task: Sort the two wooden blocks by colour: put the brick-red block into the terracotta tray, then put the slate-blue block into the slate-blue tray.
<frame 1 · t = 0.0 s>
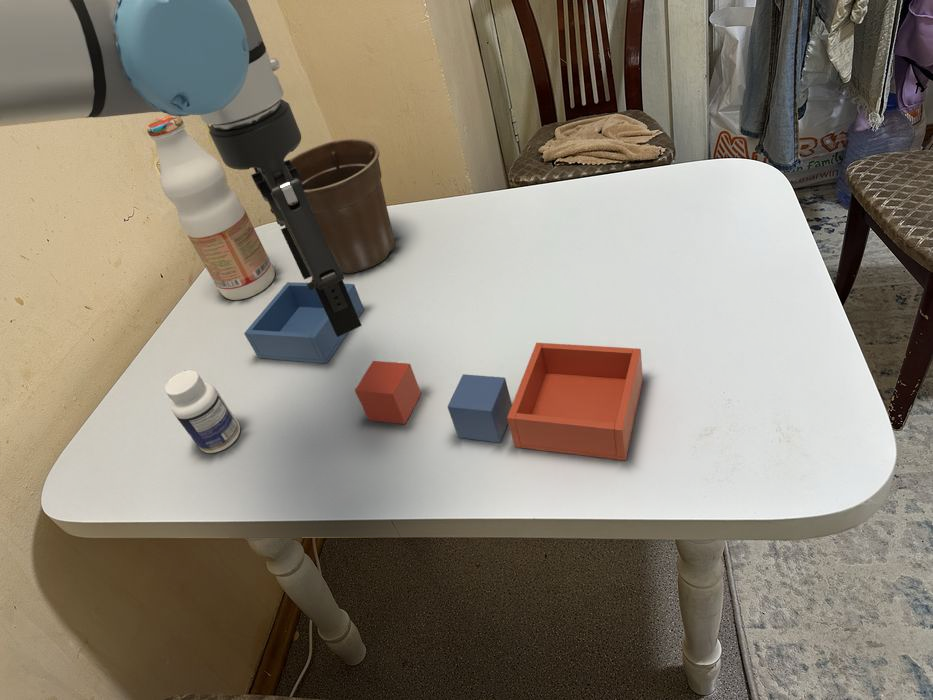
hand: (330, 299, 72), 14 cm above the table, tool pointing down, fingers open, 13 cm apart
pill bottle: (221, 438, 82), on the table
blue block: (485, 423, 73), on the table
blue bin: (312, 333, 94), on the table
fruit juice: (249, 285, 109), on the table
red bin: (580, 412, 71), on the table
red block: (395, 406, 79), on the table
plant pot: (361, 254, 108), on the table
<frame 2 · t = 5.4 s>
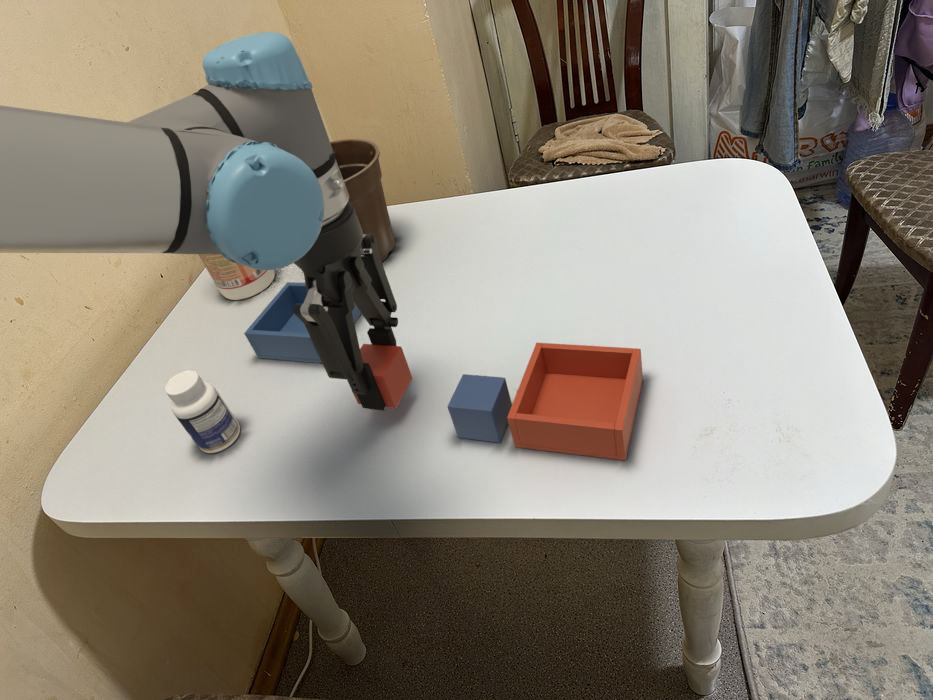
hand: (384, 389, 76), 3 cm above the table, tool pointing down, fingers closed on red block, 5 cm apart
red block: (385, 391, 77), point 3 cm above the table, touching gripper
everything else where it was.
when the fingers open (3 cm above the table, at t = 25.4 s): red block stays where it is, resting on red bin.
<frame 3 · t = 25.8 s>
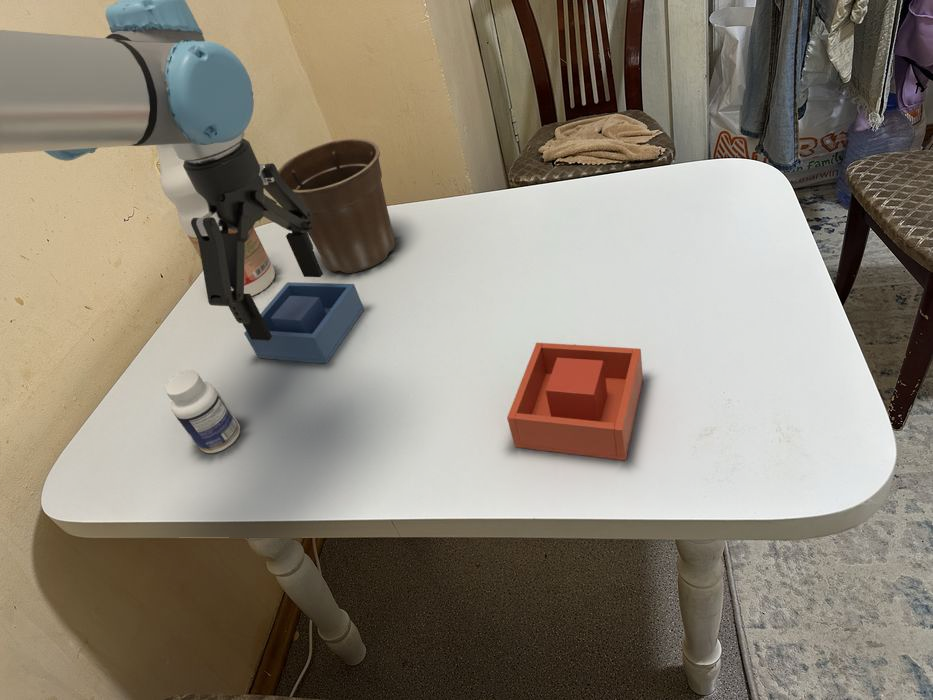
hand: (289, 305, 85), 8 cm above the table, tool pointing down, fingers open, 12 cm apart
blue block: (308, 335, 93), point 1 cm above the table, touching blue bin
red block: (580, 408, 71), point 1 cm above the table, touching red bin
everything else where it was.
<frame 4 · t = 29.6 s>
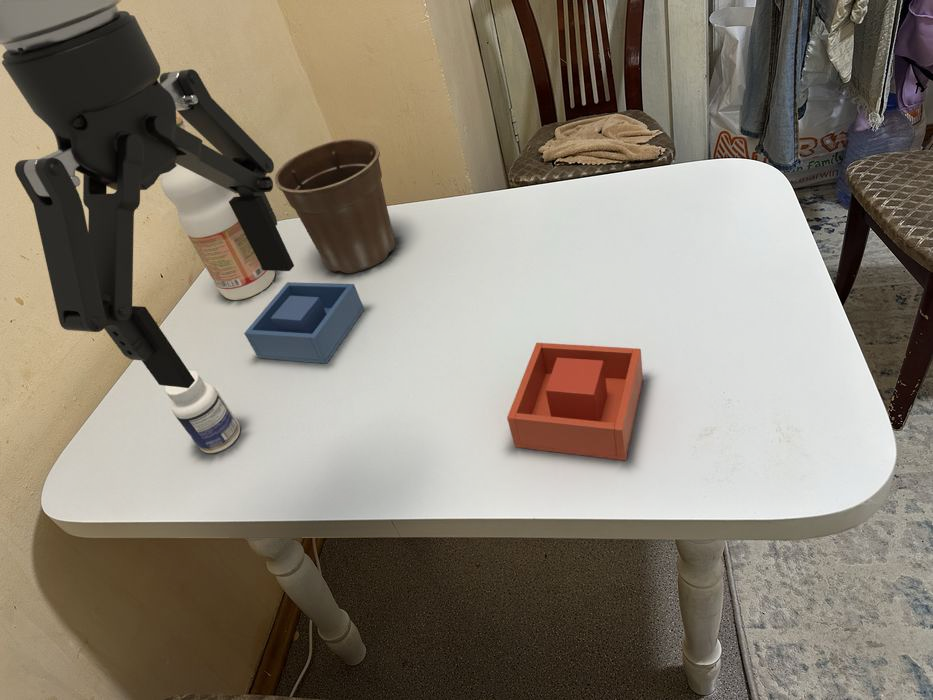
hand: (232, 320, 50), 27 cm above the table, tool pointing down, fingers open, 13 cm apart
nothing on the table moved.
at the end: red block inside the target area in the red bin (0.0 cm from its centre), point 0.6 cm above the red bin's base; blue block inside the target area in the blue bin (1.1 cm from its centre), point 0.6 cm above the blue bin's base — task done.
